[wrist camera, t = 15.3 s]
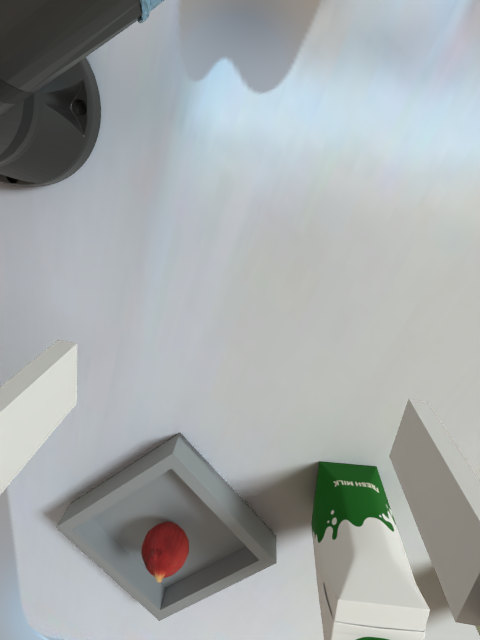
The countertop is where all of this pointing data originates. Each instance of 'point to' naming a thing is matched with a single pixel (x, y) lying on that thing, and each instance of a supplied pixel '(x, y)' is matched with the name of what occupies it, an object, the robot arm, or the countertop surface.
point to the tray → (170, 506)
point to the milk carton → (362, 560)
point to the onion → (165, 550)
